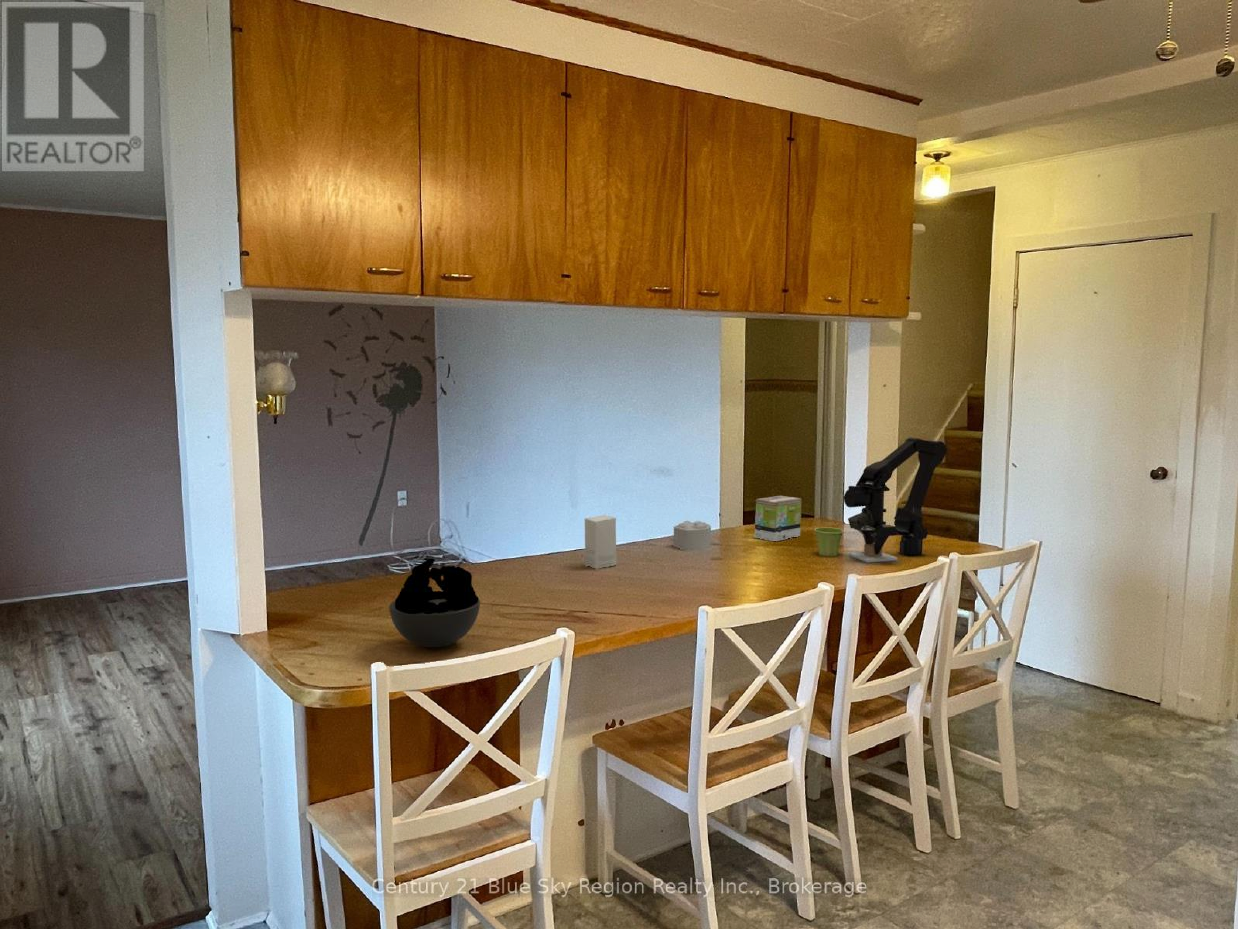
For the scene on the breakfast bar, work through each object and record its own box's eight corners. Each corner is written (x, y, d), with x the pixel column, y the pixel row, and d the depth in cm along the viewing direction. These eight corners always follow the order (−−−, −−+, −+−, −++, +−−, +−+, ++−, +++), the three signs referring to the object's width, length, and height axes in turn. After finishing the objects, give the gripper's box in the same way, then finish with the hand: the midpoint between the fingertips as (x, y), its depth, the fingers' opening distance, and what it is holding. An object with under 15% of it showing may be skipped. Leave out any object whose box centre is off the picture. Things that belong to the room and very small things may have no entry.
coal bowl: (467, 661, 188) (465, 575, 186) (377, 659, 190) (374, 574, 188) (490, 633, 208) (488, 555, 206) (407, 631, 210) (405, 554, 208)
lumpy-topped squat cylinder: (670, 546, 308) (670, 521, 307) (700, 542, 315) (700, 518, 314) (687, 551, 300) (687, 526, 299) (717, 547, 306) (718, 522, 305)
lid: (878, 553, 292) (878, 540, 292) (897, 560, 282) (897, 547, 281) (848, 555, 289) (849, 542, 289) (867, 562, 279) (867, 549, 278)
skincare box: (605, 562, 283) (605, 514, 281) (617, 566, 277) (617, 517, 276) (583, 566, 278) (583, 517, 276) (595, 570, 272) (595, 520, 271)
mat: (879, 554, 294) (879, 553, 293) (902, 562, 281) (902, 561, 281) (844, 556, 290) (844, 555, 290) (866, 565, 278) (866, 564, 277)
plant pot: (840, 552, 296) (841, 527, 295) (844, 558, 287) (845, 532, 286) (812, 552, 297) (812, 527, 296) (815, 558, 288) (816, 532, 287)
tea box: (776, 542, 314) (776, 501, 312) (753, 538, 321) (754, 498, 320) (801, 537, 324) (802, 497, 322) (779, 533, 331) (780, 494, 330)
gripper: (837, 502, 290) (836, 548, 292) (868, 511, 272) (866, 560, 274) (867, 500, 293) (865, 546, 295) (899, 509, 275) (898, 558, 277)
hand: (873, 552), depth 285 cm, fingers closed on lid, 4 cm apart
